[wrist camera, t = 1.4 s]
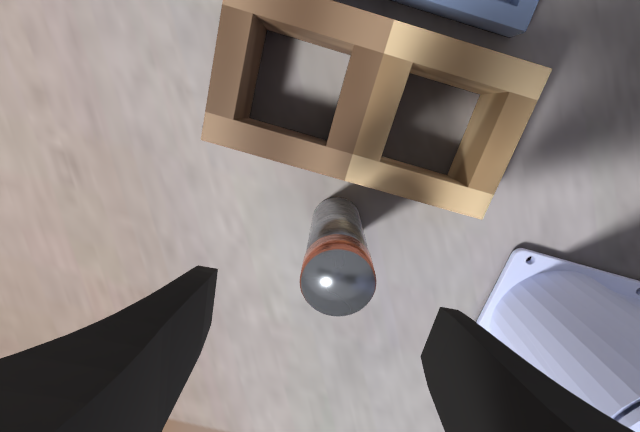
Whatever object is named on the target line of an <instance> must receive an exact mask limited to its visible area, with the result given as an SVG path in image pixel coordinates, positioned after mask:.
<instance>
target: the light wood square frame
mask: <svg viewBox="0 0 640 432" xmlns="http://www.w3.org/2000/svg"><path fill="white" fill-rule="evenodd" d="M551 71H552V69H551V68H548V67H545V66H542V65H539V64H535V63H532V62H529V61H526V60H522V59H519V58H516V57H513V56H510V55H506V54H503V53H500V52H497V51H493V50H490V49H487V48H484V47H481V46H477V45H474V44H471V43H468V42H464V41H461V40H458V39H455V38H452V37H448V36H445V35H442V34H439V33H436V32H432V31H429V30H426V29H423V28H419V27H416V26H413V25H410V24H407V23H403V22H400V21H397V20H394V22H393V25H392V29H391V32H390V35H389V38H388V42H387V45H386V48H385V51H384V54H383V58H382V61H381V64H380V67H379V71H378V74H377V77H376V80H375V84H374V87H373V90H372V93H371V97H370V100H369V103H368V106H367V110H366V113H365V116H364V119H363V123H362V126H361V129H360V132H359V135H358V139H357V142H356V145H355V148H354V152H353V155H352V158H351V161H350V165H349V168H348V171H347V174H346V178H345V181H347V182H351V183H354V184H358V185H362V186H365V187H369V188H372V189H376V190H379V191H383V192H386V193H390V194H393V195H397V196H400V197H404V198H407V199H411V200H414V201H418V202H421V203H425V204H428V205H432V206H436V207H439V208H443V209H446V210H450V211H453V212H457V213H460V214H464V215H467V216H471V217H474V218H478V219H481V220H482V219H483V217H484V215H485V213H486V211H487V208H488V206H489V204H490V202H491V200H492V198H493V196H494V193H495V191H496V189H497V187H498V185H499V183H500V181H501V178H502V176H503V174H504V172H505V170H506V168H507V165H508V163H509V161H510V159H511V157H512V155H513V153H514V150H515V148H516V146H517V144H518V142H519V140H520V138H521V135H522V133H523V131H524V129H525V127H526V125H527V122H528V120H529V118H530V116H531V114H532V112H533V110H534V107H535V105H536V103H537V101H538V99H539V97H540V95H541V92H542V90H543V88H544V86H545V84H546V82H547V79H548V77H549V75H550V73H551ZM409 73H411V74H414V75H418V76H421V77H424V78H428V79H431V80H434V81H437V82H441V83H444V84H447V85H451V86H454V87H457V88H461V89H464V90H467V91H470V92H474V93H477V94H480V96H479V99H478V101H477V104H476V106H475V109H474V111H473V114H472V116H471V118H470V121H469V123H468V126H467V128H466V131H465V133H464V136H463V138H462V140H461V143H460V145H459V148H458V150H457V153H456V155H455V157H454V160H453V162H452V165H451V167H450V170H449V172H448V175H445V174H441V173H438V172H435V171H431V170H428V169H424V168H421V167H417V166H414V165H410V164H407V163H403V162H400V161H397V160H393V159H390V158H386V157H383V156H382V153H383V150H384V147H385V144H386V141H387V138H388V135H389V132H390V129H391V126H392V123H393V120H394V117H395V114H396V111H397V108H398V105H399V102H400V99H401V96H402V93H403V90H404V87H405V84H406V82H407V79H408V76H409Z"/></svg>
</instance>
